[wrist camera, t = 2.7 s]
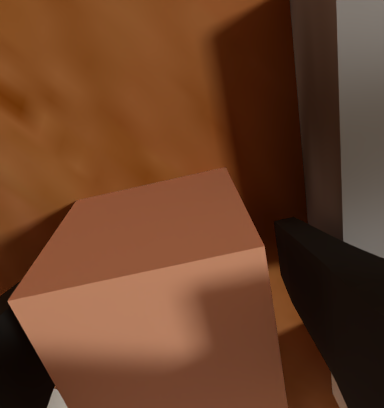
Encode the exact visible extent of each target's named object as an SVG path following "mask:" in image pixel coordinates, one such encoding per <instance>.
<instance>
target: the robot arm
mask: <svg viewBox="0 0 384 408" xmlns="http://www.w3.org/2000/svg"><path fill="white" fill-rule="evenodd" d="M274 225H275V233H276V241H277V248H278V256H279V264H280V272H281V276H282V279H283V281H284V284H285V286H286V289H287V291H288V294H289V296H290V299H291V301H292V303H293V305H294V307H295V309H296V310H297V312H298V314H299V316H300V318H301V319H302V321H303V323H304V325H305V327H306V328H307V330H308V332H309V334H310V335H311V337H312V339H313V341H314V342H315V344H316V346H317V348H318V350H319V351H320V353H321V355H322V357H323V358H324V360H325V362H326V364H327V365H328V367H329V369H330V371H331V373H332V375H333V377H334V379H335V381H336V383H337V385H338V388H339V390H340V392H341V394H342V396H343V399H344V401H345V403H346V405H347V408H384V258H382V257H379V256H377V255H374V254H372V253H369V252H367V251H364V250H362V249H359V248H357V247H355V246H353V245H350V244H348V243H346V242H344V241H342V240H339V239H337V238H335V237H333V236H331V235H329V234H327V233H325V232H323V231H321V230H319V229H317V228H315V227H313V226H311V225H309V224H307V223H305V222H303V221H301V220H299V219H297V218H295V217H291V218H287V219H282V220H277V221H274ZM20 282H21V281H20ZM20 282H19V283H20ZM19 283H17V284H16V285H15V286H13V287H12V288H11V289H9V290H8V291H7V292H5V293H4V294H3V295H2V296H0V408H47V406H48V404H49V401H50V398H51V395H52V392H53V389H54V386H55V384H54V383H53V381H52V379H51V377H50V376H49V374H48V372H47V370H46V368H45V367H44V365H43V363H42V361H41V360H40V358H39V356H38V354H37V353H36V351H35V349H34V347H33V346H32V344H31V342H30V340H29V339H28V337H27V335H26V333H25V331H24V330H23V328H22V326H21V324H20V323H19V321H18V319H17V317H16V316H15V314H14V312H13V310H12V309H11V307H10V305H9V303H8V302H7V301H8V299H9V298H10V296H11V295H12V293H13V292H14V291H15V289H16V288H17V286H18V285H19Z"/></svg>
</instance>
